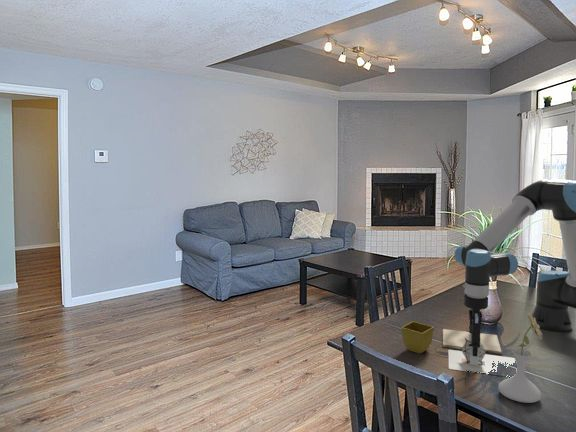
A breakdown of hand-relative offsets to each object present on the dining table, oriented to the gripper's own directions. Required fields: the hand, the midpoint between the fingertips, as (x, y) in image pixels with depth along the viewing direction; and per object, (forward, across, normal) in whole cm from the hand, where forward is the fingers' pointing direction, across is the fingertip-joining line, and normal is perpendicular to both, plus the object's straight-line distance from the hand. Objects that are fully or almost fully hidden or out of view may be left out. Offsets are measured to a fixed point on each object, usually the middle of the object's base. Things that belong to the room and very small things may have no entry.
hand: (473, 357), depth 153 cm
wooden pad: (+2, -18, 0) cm, 18 cm away
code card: (+2, 0, +3) cm, 3 cm away
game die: (+2, 0, 0) cm, 2 cm away
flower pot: (+2, -4, -19) cm, 19 cm away
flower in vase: (+2, +19, +12) cm, 23 cm away
